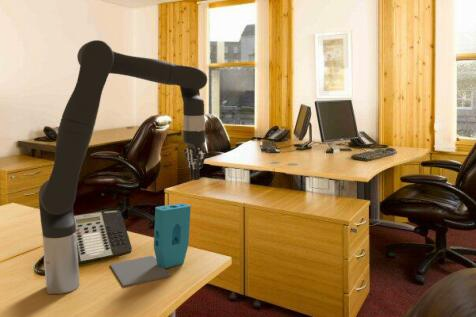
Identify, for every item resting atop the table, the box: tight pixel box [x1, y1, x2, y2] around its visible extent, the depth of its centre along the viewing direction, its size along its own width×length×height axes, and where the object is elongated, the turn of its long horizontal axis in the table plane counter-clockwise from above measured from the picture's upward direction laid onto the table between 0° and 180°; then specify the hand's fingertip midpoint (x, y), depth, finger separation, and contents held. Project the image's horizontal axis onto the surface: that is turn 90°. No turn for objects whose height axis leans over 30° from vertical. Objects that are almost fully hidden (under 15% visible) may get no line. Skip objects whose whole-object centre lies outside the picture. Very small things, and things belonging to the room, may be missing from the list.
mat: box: [109, 255, 171, 288], centre depth 140 cm, size 15×18×1 cm
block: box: [153, 202, 192, 269], centre depth 144 cm, size 12×5×20 cm, turn 135°
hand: (194, 178), depth 145 cm, fingers closed
